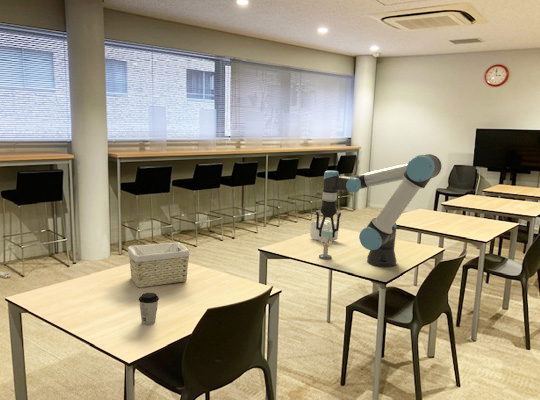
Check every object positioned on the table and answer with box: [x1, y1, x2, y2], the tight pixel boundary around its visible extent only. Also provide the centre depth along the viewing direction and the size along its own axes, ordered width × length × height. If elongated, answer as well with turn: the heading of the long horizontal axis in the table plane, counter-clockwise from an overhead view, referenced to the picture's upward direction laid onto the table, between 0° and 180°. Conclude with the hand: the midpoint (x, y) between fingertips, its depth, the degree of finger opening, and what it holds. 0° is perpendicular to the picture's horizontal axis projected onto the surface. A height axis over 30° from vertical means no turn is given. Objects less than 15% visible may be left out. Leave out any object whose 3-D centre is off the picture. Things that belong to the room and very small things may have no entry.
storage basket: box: [127, 241, 190, 288], centre depth 211 cm, size 24×16×15 cm
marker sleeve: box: [323, 229, 331, 237], centre depth 257 cm, size 4×4×3 cm
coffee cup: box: [138, 292, 160, 326], centre depth 169 cm, size 7×7×10 cm
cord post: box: [318, 229, 332, 261], centre depth 258 cm, size 7×7×16 cm
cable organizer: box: [309, 219, 339, 244], centre depth 296 cm, size 15×11×12 cm
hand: (326, 242), depth 257 cm, fingers closed on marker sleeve, 4 cm apart
